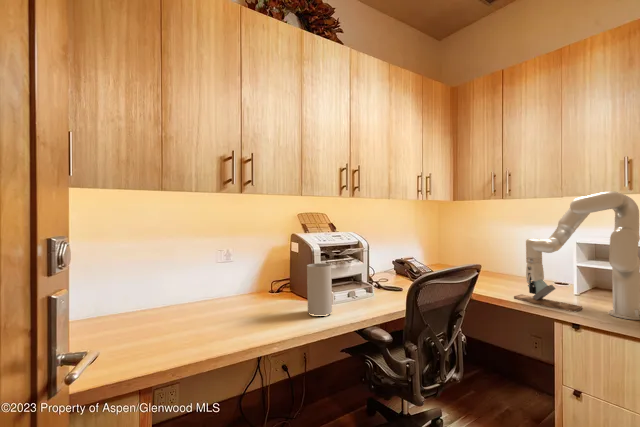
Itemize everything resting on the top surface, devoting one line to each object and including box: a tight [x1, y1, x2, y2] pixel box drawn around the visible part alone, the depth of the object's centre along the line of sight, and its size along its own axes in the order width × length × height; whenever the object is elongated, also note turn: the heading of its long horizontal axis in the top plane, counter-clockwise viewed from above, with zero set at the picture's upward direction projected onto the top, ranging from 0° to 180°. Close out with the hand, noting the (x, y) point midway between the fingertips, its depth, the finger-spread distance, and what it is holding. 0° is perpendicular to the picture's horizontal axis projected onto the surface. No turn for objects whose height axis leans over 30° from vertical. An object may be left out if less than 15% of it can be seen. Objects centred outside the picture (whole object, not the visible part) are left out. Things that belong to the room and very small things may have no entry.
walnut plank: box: [513, 294, 583, 312], centre depth 176 cm, size 30×8×2 cm, turn 29°
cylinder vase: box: [306, 262, 333, 315], centre depth 164 cm, size 12×12×25 cm
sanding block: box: [527, 279, 557, 300], centre depth 178 cm, size 10×6×8 cm
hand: (534, 292), depth 180 cm, fingers closed on sanding block, 4 cm apart
